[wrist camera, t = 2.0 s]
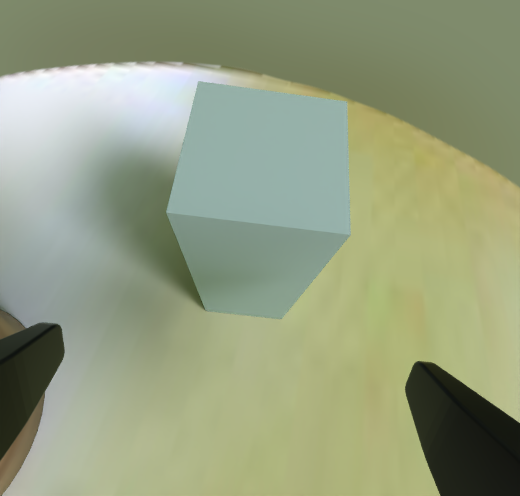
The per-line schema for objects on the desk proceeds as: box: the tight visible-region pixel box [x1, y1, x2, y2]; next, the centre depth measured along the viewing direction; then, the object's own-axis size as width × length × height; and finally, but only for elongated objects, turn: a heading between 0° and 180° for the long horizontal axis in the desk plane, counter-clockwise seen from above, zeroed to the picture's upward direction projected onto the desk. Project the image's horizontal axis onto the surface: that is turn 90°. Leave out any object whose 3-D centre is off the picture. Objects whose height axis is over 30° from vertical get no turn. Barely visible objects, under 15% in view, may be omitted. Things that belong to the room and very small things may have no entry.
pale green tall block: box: [166, 81, 351, 319], centre depth 15 cm, size 5×5×13 cm
